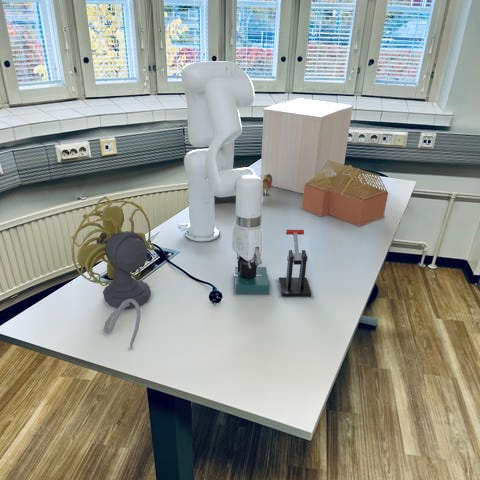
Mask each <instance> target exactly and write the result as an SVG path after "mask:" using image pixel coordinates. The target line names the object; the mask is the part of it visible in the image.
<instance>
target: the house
mask: <svg viewBox="0 0 480 480" xmlns="http://www.w3.org/2000/svg"><path fill="white" fill-rule="evenodd" d="M328 161H329V160H328ZM328 161H327V162H326V164H327V163H328ZM331 163H332V164H333V163H334V164H333V165H332V164H331ZM326 164H325V165H324V167H325V166H326ZM329 164H331V165H330V166H329ZM329 164H328V165H327V167H329V168H331V170H332V169H334V170H333V171H334V174H335V173H336V175H335V176H334V174H333V175H332V177H331V174H332V173H333V171H332V173H330V172H331V170H329V168H328V170H329V171H328V170H327V171H325V170H326V168H327V167H326V168H325V170H324V171H325V172H324V171H323V173H322V172H321V171H322V170H323V169H324V167H323V168H322V170H321V171H320V173H319V174H316V175H315V176H314V177H313V178H311V179H310V180H311V181H310V180H309V181H310V182H309V181H308V182H307V183H306V184H305V185H304V193H303V194H302V195H303V196H302V206H301V209H302V210H305V211H307V212H309V213H312V214H314V215H315V216H316V215H317V216H318V217H323V216H326V215H330V216H332V217H335V218H338V219H340V220H343V221H345V222H348V223H349V224H353V225H356V226H357V227H361V226H363V225H365V224H369V223H371V222H374V221H376V220H379V219H381V218H384V216H385V212H386V206H387V202H388V196H389V192H388V189H387V187H386V185H385V184H384V182H383V180H382V178H381V176H380V174H377V173H374V172H371V171H370V172H369V171H368V170H367V171H366V170H365V169H364V170H363V169H360V168H358V167H357V168H356V167H353V166H352V164H348V165H347V164H345V163H344V164H343V165H342V164H339V162H338V164H339V166H338V164H337V162H334V161H333V162H332V161H329ZM336 164H337V165H336ZM334 165H335V166H334ZM340 165H341V166H340ZM331 166H332V167H331ZM337 166H338V167H337ZM343 166H344V167H343ZM336 168H337V169H336ZM335 169H336V170H335ZM336 171H337V172H336ZM327 173H328V174H329V173H330V174H329V177H328V178H327V176H328V174H327ZM325 174H327V176H326V175H325ZM322 176H323V177H322ZM324 176H325V177H324ZM315 177H316V178H315ZM320 177H321V178H320ZM323 178H324V179H323ZM313 180H314V181H313ZM308 183H309V184H308Z"/></svg>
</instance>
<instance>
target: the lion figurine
mask: <svg viewBox="0 0 480 480" xmlns="http://www.w3.org/2000/svg"><path fill="white" fill-rule="evenodd" d="M271 184H272V176H271V175H270V174H266V175H264V179H263V195H264V194H265V195H266V196H269V189H270V188H271V187H272V186H271Z"/></svg>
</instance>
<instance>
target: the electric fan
mask: <svg viewBox="0 0 480 480" xmlns="http://www.w3.org/2000/svg"><path fill="white" fill-rule="evenodd" d="M104 200H106V201H107V202H104V203H102V204H100V203H101V202H102V201H104ZM113 203H114V204H115V203H122V204H121V205H120V206H118V205H112V204H113ZM127 204H130V205H131V206H134V207H135V209H133V211H132V213H131V215H130V216H129V217H128V220H129V222H130V225H131V226H130V230H129V231H127V230H126V231H122V228H123V225H124V222H125V214H124V209H123V207H124V206H126V205H127ZM102 207H104V208H103V209H102V210H101V208H102ZM99 209H100V210H99ZM138 211H140V212H141V214H143V216H144V219H145V220H146V223H147V228H148V236H147V237H148V238H147V239H146V235H145V233H143V232H135V221H134V215H135V214H136V212H138ZM94 216H95V217H99V218H96V220H93V221H90V217H94ZM82 218H83V219H82V220H81V222H80V224H79V225H78V227H77V229H76V231H75V233H74V234H73V235H72V236H71V240H72V245H71V259H72V260H71V261H72V262H73V266H74V267H75V269H76V271H77V272H78V273H79V275H80V276H82V278H83V279H84V280H87V281H89V282H90V283H96V284H100V286H102V287H104V289H103V291H102V295H103V298H104V301H105V302H106V303H107V304H108V305H109V306H110V307H112V308H115V310H114V311H112V312H111V313H110V315H109V316H108V317H107V319H106V320H105V323H104V325H103V332H104V333H105V334H109V333H111V332H112V331H113V329H114V327H115V326H116V324H117V321H118V318H119V316H120V315H121V312H122V310H131V309H133V310H134V309H135V313H136V316H135V326H134V330H133V332H132V335H131V338H130V342H129V348H130V349H132V347H133V345H134V343H135V340H136V337H137V335H138V332H139V329H140V323H141V308H140V307H141V306H144V305H145V304H146V303H147V302H148V301H150V298H151V293H152V291H151V287H150V286H149V284H148V283H147V282H145V281H143V280H140V279H137V278H139V277H140V276H141V273H142V268H141V267H142V266H144V265H145V264H146V263H147V260H148V250H149V251H153V250H154V249H155V245H154V243H153V242H151V231H152V230H151V229H152V228H151V224H150V220H149V218H148V215H147V214H146V212H145V211H144V209H143V207H142V205H139V204H138V203H136V202H135V201H133V200H130V201H129V200H124V199H123V200H122V199H121V200H111V199H110V198H108V197H107V196H106V195H105V196H103V197H102V198H100V199H99V200H98V201H97V202H96V205H95V207H94V209H93V210H92V211H90V212H89V213H88V214H87V213H83V215H82ZM86 221H87V222H86ZM101 221H102V224H101V223H98V222H101ZM85 222H86V223H85ZM90 226H91V227H97V228H95V229H92V230H90V232H88V233H87V234H86V236H85V237H84V238H83V239H82V242H81V243H80V244H78V243H77V241H76V240H77V237H78V234H79V233H80V232H81V231H82V230H83V229H85V228H87V227H90ZM95 233H96V234H97V233H100V234H99V236H94V237H92V238H90V236H92V235H94V234H95ZM87 239H88V240H87ZM95 241H96V243H93V242H95ZM91 243H92V244H91ZM75 246H76V247H78V248H80V249H79V250H78V251H77V257H75ZM150 246H151V247H150ZM76 259H77V263H78V265H79V266H78V265H77V263H76ZM100 260H102V261H103V262H104V263H106V274H107V276H108V278H109V279H110V280H103V281H102V280H101V274H100V273H98V272H94V271H93V270H94V264H96V263H97V262H99V261H100ZM79 267H80V268H79ZM84 268H85V270H86V273H87V274H88V276H89V277H88V276H86V275H85V274H84V273H83V271H84ZM137 270H138V272H137V274H136V275H135V274H133V272H135V271H137ZM95 275H96V276H98V278H97V277H96V276H95ZM108 283H109V284H108ZM111 321H112V322H111ZM110 323H111V324H110Z"/></svg>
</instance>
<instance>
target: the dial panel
mask: <svg viewBox="0 0 480 480" xmlns="http://www.w3.org/2000/svg"><path fill="white" fill-rule="evenodd" d="M233 277H234V279H235V281H234V282H235V294H236V295H269V289H270V283H269V277H268V271H267V266H258V267H256V277H255V278H252V279H249V280H248V279H244V278H242V277H240V272H238V266H235V267H234V274H233Z"/></svg>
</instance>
